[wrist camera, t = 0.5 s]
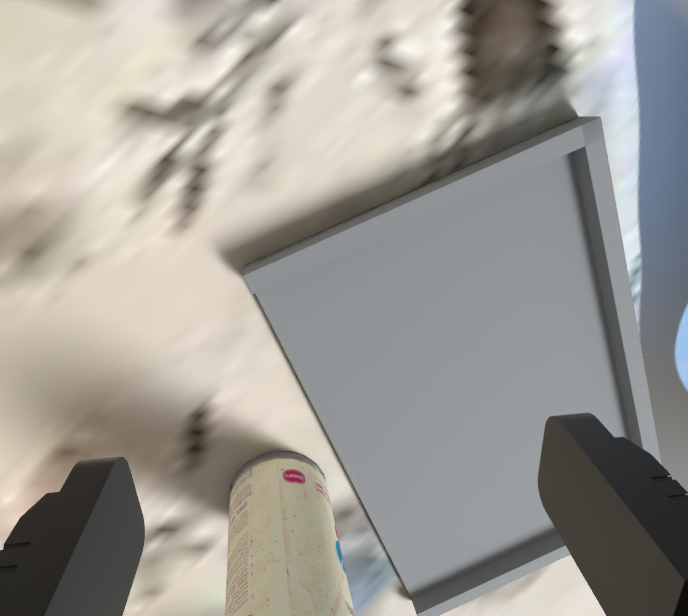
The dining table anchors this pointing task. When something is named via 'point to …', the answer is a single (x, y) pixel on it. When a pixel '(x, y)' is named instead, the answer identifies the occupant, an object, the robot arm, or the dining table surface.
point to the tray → (466, 352)
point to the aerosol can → (283, 542)
